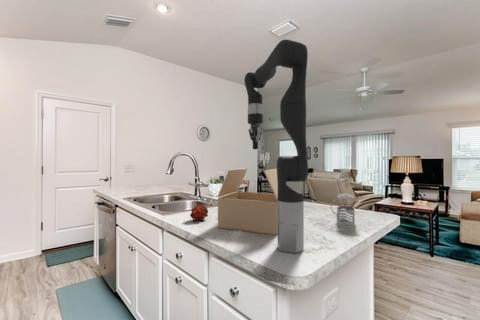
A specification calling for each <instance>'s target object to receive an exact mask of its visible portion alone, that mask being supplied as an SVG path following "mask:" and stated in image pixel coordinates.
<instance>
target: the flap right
mask: <svg viewBox="0 0 480 320" xmlns="http://www.w3.org/2000/svg"><path fill="white" fill-rule="evenodd" d="M263 172H264V175H265V178H266V180H267V182H268V184H269V186H270V189H271V191H272V194H274V195H275V198H276V200H277V201H278V183H277V168H270V169H266V170H263Z"/></svg>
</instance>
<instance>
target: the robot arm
mask: <svg viewBox="0 0 480 320" xmlns="http://www.w3.org/2000/svg"><path fill="white" fill-rule="evenodd" d="M308 55H309V53H308V48H307V45H306V44H305V43H304V42H302V41H296V40H292V39H282V40H280V41H279V42H278V43H277V44H276V45H275V47H274V48H273V50H272V51H271V53H270V54H269V56H268V57H267V59H266V60H265V61H264V63H262V64H261V65H260V66H259V67H258V68H257V69H256V70H255V72H250V71H249V72H247V73H246V74H245V75H244V78H243V79H244V85H245V89H246V93H247V124H249V125H250V127H249V129H248V133H249V137H250V141H251V142H252V149H253V150H258V149H259V141H260V140H261V136H262V134H263V133H262V131H261V125H263V124H264V107H263V94H262V93H261V92H260V91H257V90H256V89H263V88H264V87H265V86H266V84H267V82H269V81H270V80H271V79H272V78H274V76H275V75H276V74H277V73H276V72H277V68H278V67H282V68H288V69H291V70H292V77H291V82H290V84H289V87H288V88H287V90H286V91H285V92H284V94H283V96H282V97H281V100H280V107H279V108H280V109H279V112H280V113H279V114H280V116H279V117H280V118H279V119H280V122H281V124H282V126H283V128H284V129H285V131H286V133H287V134H288V135H289V137H290V138H291V140H292V142H293V144H294V145H295V146H294V147H295V150H296V154H297V155H279V156H278V158H277V160H276V169H277V183H278V208H277V210H278V235H277V249H278V251H279V252H284V253H291V254H298V253H301V252H303V251H304V248H305V247H304V241H305V239H304V236H305V235H304V231H305V229H304V226H305V224H304V223H305V221H304V218H305V217H304V216H305V214H304V207H305V206H304V204H305V203H304V199H305V198H304V197H305V196H304V193H303V192H302V191H299V190H297V189H294V188H292V187H290V186H288V184H287V182H294V183H295V182H298V183H299V182H305V181H307V179H308V175H309V166H308V165H309V164H308V163H309V161H308V151H307V149H308V148H307V99H306V97H307V96H306V90H307V89H306V82H307V71H308V70H307V68H308Z"/></svg>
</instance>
